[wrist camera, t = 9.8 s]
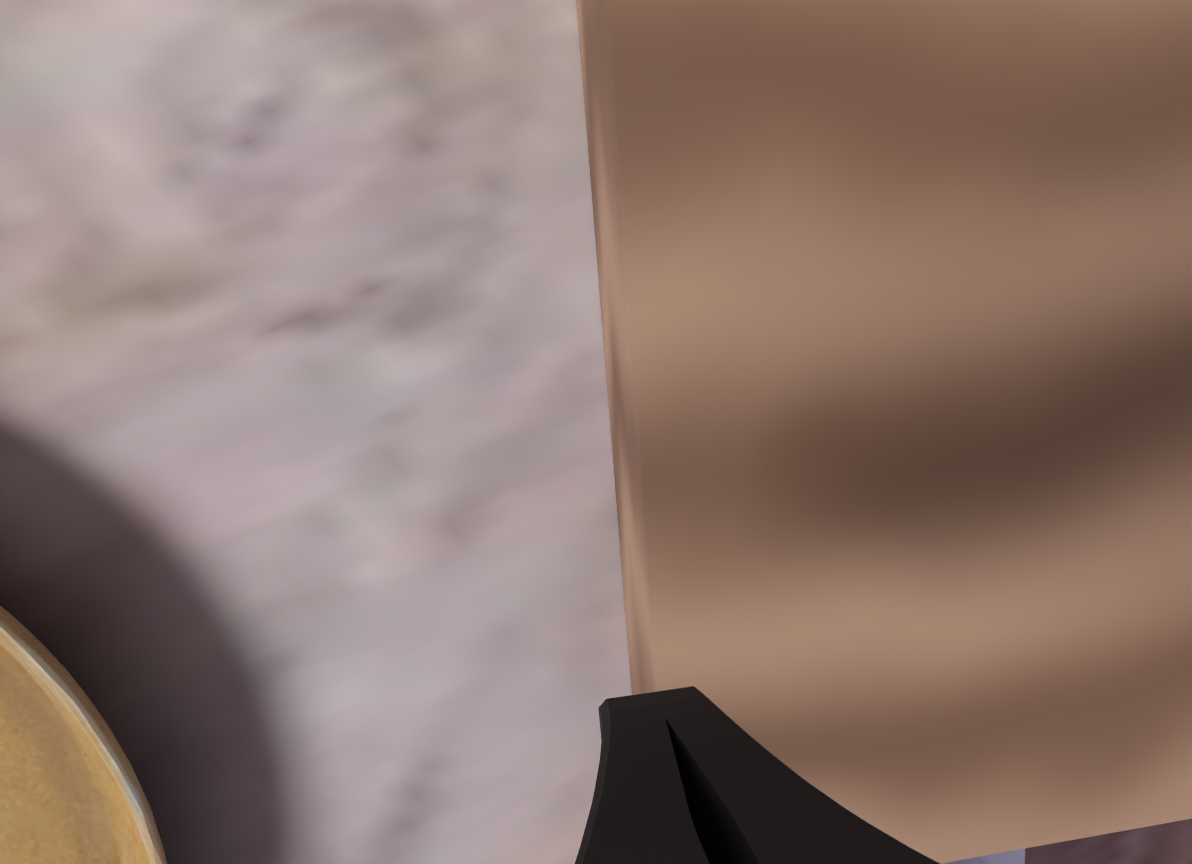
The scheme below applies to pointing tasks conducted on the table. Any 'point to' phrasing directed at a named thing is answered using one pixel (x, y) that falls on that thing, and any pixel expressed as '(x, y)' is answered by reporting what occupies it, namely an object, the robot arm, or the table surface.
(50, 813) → the plant saucer
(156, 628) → the table surface
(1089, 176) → the stand
